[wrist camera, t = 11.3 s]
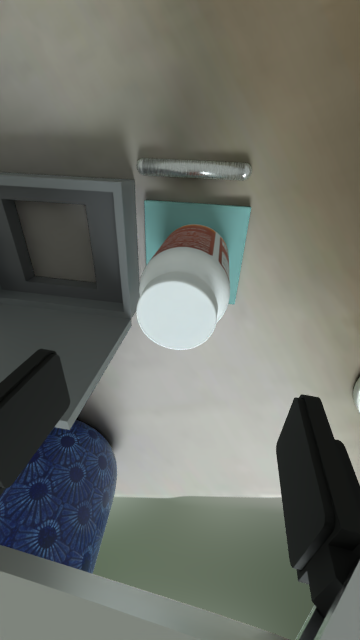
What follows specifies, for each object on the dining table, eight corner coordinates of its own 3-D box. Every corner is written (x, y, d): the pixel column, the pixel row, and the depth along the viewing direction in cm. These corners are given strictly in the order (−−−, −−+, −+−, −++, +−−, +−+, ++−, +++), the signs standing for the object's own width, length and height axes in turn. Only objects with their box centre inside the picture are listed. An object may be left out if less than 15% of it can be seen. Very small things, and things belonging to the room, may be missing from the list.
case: (134, 179, 22) (1, 204, 9) (140, 310, 29) (69, 429, 16) (-36, 170, 24) (-346, 179, 11) (8, 294, 30) (-152, 390, 18)
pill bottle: (150, 260, 25) (103, 319, 15) (190, 206, 22) (162, 240, 12) (199, 299, 26) (183, 375, 17) (243, 254, 23) (254, 316, 14)
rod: (252, 163, 20) (253, 163, 19) (249, 180, 21) (250, 181, 20) (138, 157, 21) (134, 157, 20) (139, 174, 22) (135, 175, 21)
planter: (24, 452, 50) (-72, 588, 34) (12, 380, 39) (-139, 533, 23) (125, 482, 50) (77, 634, 34) (142, 419, 39) (82, 600, 23)
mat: (250, 206, 21) (251, 207, 21) (234, 301, 26) (234, 304, 26) (146, 199, 22) (144, 200, 22) (148, 292, 27) (147, 294, 27)
